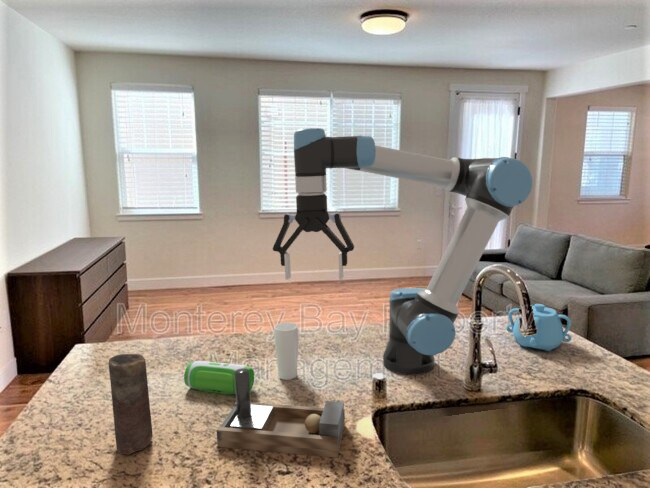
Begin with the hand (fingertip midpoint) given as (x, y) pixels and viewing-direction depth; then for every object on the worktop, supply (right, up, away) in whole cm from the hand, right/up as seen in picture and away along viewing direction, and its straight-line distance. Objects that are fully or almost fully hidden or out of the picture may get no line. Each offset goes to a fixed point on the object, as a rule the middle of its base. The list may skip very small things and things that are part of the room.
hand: (314, 278), depth 115 cm
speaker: (-26, -31, +8) cm, 41 cm away
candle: (-39, -35, -16) cm, 55 cm away
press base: (-7, -34, -13) cm, 37 cm away
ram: (-14, -32, -13) cm, 37 cm away
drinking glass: (-8, -29, +15) cm, 34 cm away
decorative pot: (+73, -25, +35) cm, 84 cm away
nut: (0, -31, -15) cm, 34 cm away
